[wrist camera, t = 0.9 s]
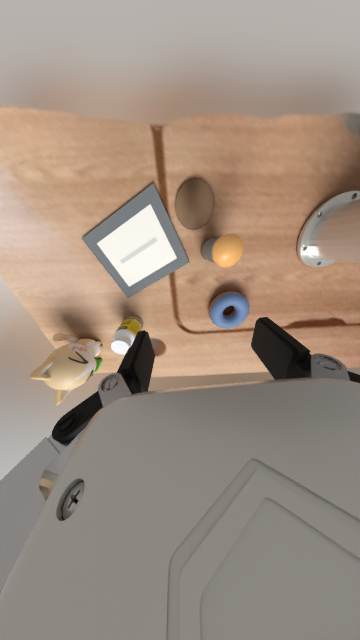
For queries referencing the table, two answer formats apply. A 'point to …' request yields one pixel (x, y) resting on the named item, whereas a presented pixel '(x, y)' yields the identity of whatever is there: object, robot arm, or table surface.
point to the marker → (223, 250)
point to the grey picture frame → (138, 243)
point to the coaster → (194, 204)
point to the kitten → (69, 365)
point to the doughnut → (224, 301)
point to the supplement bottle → (126, 334)
